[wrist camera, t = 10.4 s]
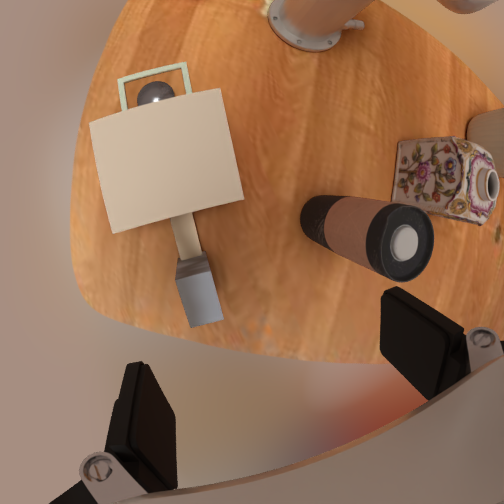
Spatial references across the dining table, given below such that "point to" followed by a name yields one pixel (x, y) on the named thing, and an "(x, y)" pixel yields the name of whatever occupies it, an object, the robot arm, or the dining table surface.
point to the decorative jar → (446, 178)
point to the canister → (489, 135)
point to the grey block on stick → (194, 274)
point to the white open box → (165, 159)
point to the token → (154, 93)
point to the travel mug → (372, 233)
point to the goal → (150, 73)
